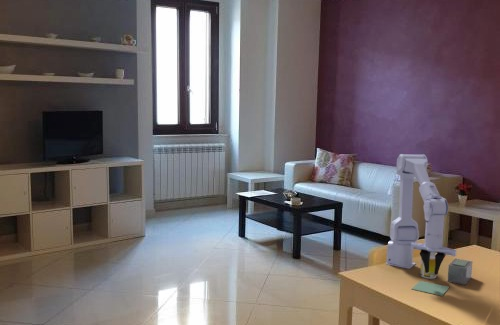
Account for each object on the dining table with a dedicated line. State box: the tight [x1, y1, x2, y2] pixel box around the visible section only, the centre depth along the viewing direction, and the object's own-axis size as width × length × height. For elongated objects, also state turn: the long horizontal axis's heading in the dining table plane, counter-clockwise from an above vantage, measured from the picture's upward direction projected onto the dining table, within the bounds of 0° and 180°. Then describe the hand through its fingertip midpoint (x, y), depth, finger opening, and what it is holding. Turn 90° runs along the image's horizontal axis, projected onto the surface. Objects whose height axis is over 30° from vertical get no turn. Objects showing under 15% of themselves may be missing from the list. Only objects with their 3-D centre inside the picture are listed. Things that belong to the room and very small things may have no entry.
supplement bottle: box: [419, 252, 437, 280], centre depth 184 cm, size 6×6×10 cm
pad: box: [411, 280, 450, 297], centre depth 172 cm, size 10×10×1 cm
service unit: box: [447, 258, 473, 286], centre depth 182 cm, size 6×10×6 cm, turn 146°
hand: (431, 273), depth 172 cm, fingers closed
